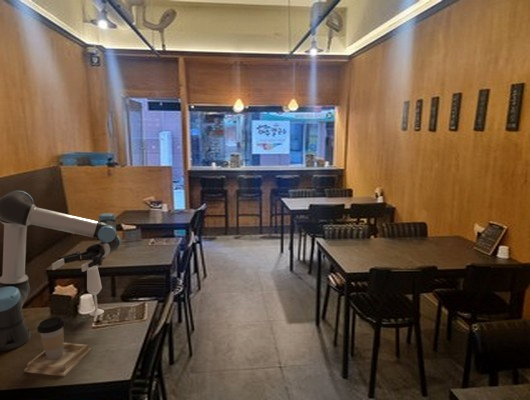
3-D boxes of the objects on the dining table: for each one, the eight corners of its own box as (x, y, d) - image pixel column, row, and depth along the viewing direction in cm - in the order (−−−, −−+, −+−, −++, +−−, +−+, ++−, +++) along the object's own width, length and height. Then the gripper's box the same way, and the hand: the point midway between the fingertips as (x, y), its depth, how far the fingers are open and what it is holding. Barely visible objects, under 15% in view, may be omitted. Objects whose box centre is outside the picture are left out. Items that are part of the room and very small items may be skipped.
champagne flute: (96, 316, 186) (91, 271, 182) (86, 314, 189) (81, 269, 184) (107, 310, 193) (102, 266, 188) (97, 308, 195) (92, 264, 191)
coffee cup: (70, 356, 153) (66, 322, 150) (44, 366, 146) (40, 331, 143) (63, 346, 159) (59, 314, 157) (38, 355, 153) (34, 322, 150)
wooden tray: (24, 371, 145) (23, 364, 144) (55, 346, 161) (54, 340, 161) (64, 376, 142) (63, 369, 141) (91, 350, 158) (91, 343, 158)
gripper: (123, 260, 176) (95, 277, 155) (74, 257, 180) (41, 274, 159) (121, 244, 174) (94, 260, 154) (73, 242, 178) (39, 257, 158)
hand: (67, 267), depth 156 cm, fingers open, 13 cm apart
